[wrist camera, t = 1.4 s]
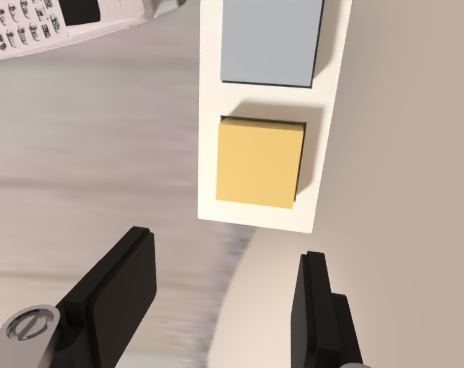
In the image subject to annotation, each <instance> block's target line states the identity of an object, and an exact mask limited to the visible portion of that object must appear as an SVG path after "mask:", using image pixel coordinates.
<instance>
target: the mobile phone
mask: <svg viewBox="0 0 464 368" xmlns="http://www.w3.org/2000/svg"><path fill="white" fill-rule="evenodd" d="M178 8H179V1H178V0H0V60H3V59H7V58H11V57H16V56H17V57H20V56H25V55H29V54H34V53H39V52H43V51H47V50H51V49H56V48H60V47H64V46H68V45H72V44H76V43H80V42H83V41H87V40H90V39H93V38H97V37H100V36H103V35H107V34H110V33H113V32H117V31H120V30H124V29H127V28H130V27H132V26H134V25H138V24H141V23H145V22H148V21H150V20H151V19H152V18H155V17H158V16H160V15H162V14H165V13H167V12H170V11H173V10H175V9H178ZM67 39H68V40H67ZM60 41H61V42H60ZM53 43H54V44H53ZM46 45H47V46H46Z"/></svg>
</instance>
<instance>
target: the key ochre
mask: <svg viewBox="0 0 464 368" xmlns="http://www.w3.org/2000/svg"><path fill="white" fill-rule="evenodd" d="M303 132H304V131H303V127H302V125H297V124H286V123H274V122H262V121H250V120H238V119H227V118H225V119H224V120H223V121H222V122H220V123H219V126H218V153H217V180H216V200H221V201H229V202H237V203H245V204H254V205H262V206H270V207H278V208H286V209H293V202H294V195H295V188H296V181H297V174H298V167H299V160H300V153H301V146H302V139H303Z"/></svg>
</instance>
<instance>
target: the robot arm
mask: <svg viewBox="0 0 464 368" xmlns="http://www.w3.org/2000/svg"><path fill="white" fill-rule="evenodd" d="M156 291H157V285H156V265H155V245H154V234H153V233H152V232H150V230H149V229H148V228H144V227H137V226H133V227H132V228H131V229H130V230H129V231H128V232H127V233H126V234H125V235H124V236H123V237H122V238H121V239H120V240H119V241H118V242H117V243H116V244H115V246H114V247H113V248H112V249H111V250H110V251H109V252H108V253H107V254H106V255H105V256H104V257H103V258H102V259H101V260H100V261H99V262H98V263H97V264H96V265H95V266H94V267H93V268H92V269H91V270H90V271H89V272H88V273H87V274H86V275H85V276H84V277H83V278H82V279H81V280H80V281H79V282H78V283H77V284H76V285H75V286H74V287H73V289H72V290H71V291H70V292H69V293H68V294H67V295H66V296H65V297H64V298H63V299H62V300H61V301H60V302H59V303H58V304H57V305H56V306H55V307H54V306H51V305H36V306H32V307H29V308H26V309H23V310H21V311H19V312H18V313H16V314H14V315H13V316H12V317H10V318H9V319H8V320H7V321H6V322H5V323H4V324H3V325H2V327H1V328H0V368H115V366H116V364H117V363H118V361H119V359H120V357H121V356H122V354H123V352H124V350H125V349H126V347H127V345H128V343H129V342H130V340H131V338H132V336H133V335H134V333H135V331H136V330H137V328H138V326H139V324H140V323H141V321H142V319H143V317H144V316H145V314H146V312H147V310H148V309H149V307H150V305H151V303H152V302H153V300H154V298H155V295H156ZM291 368H370V367H369V366H366V365H363V361H362V357H361V353H360V349H359V345H358V341H357V336H356V332H355V329H354V324H353V320H352V317H351V313H350V308H349V304H348V300H347V297H346V296H345V295H342V294H336V293H331V288H330V282H329V277H328V271H327V266H326V260H325V255H324V253H320V252H313V251H308V252H307V255H305V254H301V258H300V264H299V270H298V276H297V282H296V288H295V294H294V301H293V306H292V312H291Z"/></svg>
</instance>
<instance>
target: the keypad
mask: <svg viewBox="0 0 464 368" xmlns="http://www.w3.org/2000/svg"><path fill="white" fill-rule="evenodd" d="M351 5H352V0H322V6H321V13H320V20H319V27H318V34H317V41H316V48H315V55H314V62H313V69H312V76H311V83H310V86H301V85H287V84H272V83H257V82H242V81H227V80H220V71H221V44H222V17H223V0H201V8H200V88H199V168H198V218H200V219H207V220H215V221H222V222H230V223H237V224H245V225H252V226H260V227H267V228H275V229H282V230H290V231H297V232H306V233H312V227H313V221H314V216H315V210H316V205H317V199H318V192H319V187H320V182H321V176H322V169H323V164H324V159H325V153H326V147H327V141H328V136H329V130H330V124H331V118H332V113H333V108H334V102H335V95H336V90H337V85H338V79H339V73H340V67H341V61H342V56H343V50H344V45H345V39H346V32H347V28H348V22H349V16H350V11H351ZM225 118H227V119H238V120H250V121H262V122H274V123H286V124H297V125H302V127H303V131H304V132H303V139H302V146H301V153H300V160H299V167H298V174H297V181H296V188H295V195H294V202H293V209H286V208H278V207H270V206H262V205H254V204H245V203H237V202H229V201H221V200H216V180H217V153H218V126H219V123H220V122H222V121H223V120H224V119H225Z"/></svg>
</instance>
